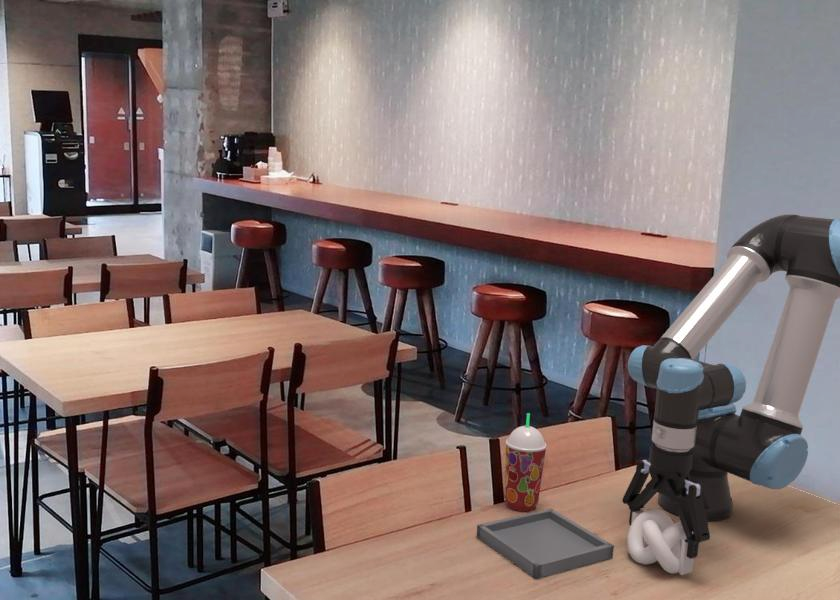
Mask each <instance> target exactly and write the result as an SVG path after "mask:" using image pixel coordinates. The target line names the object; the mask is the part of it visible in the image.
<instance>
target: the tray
mask: <svg viewBox="0 0 840 600" xmlns="http://www.w3.org/2000/svg"><path fill="white" fill-rule="evenodd" d="M476 538H477V540H479V541H481V543H484V544H486V546H488V547H489V548H491V549H492V548H493V550H494V551H495V550H496V551H495V552H496V553H498V554H499V553H500V555H501V556H502V555H503V556H502V557H504V558H505V559H506V560H508V561H509V560H510V561H509V562H511V563H512V562H513V563H512V564H514V565H515V564H516V565H517V566H516V565H515V566H516V567H518V568H519V567H520V569H521V570H522V571H524V572H525V573H526V574H528V575H529V576H531V577H532V578H534V579H535V580H539V579H542V578H546V577H549V576H553V575H556V574H560V573H564V572H567V571H571V570H574V569H577V568H582V567H586V566H591V565H592V564H597V563H600V562H604V561H608V560H610V559H613V556H614V550H615V549H614V548H615V545H614V544H612V543H611V542H609V541H607V540H605V539H604V538H601V537H600V536H599V535H597V534H595V533H594V532H591V531H590V530H588V529H587V528H585V527H583V526H581V525H579V524H578V523H576V522H575V521H573V520H571V519H570V518H568V517H566V516H564V515H562V514H561V513H559V512H557V511H556V510H554V509H553V508H547V509H543V510H538V511H533V512H529V513H525V514H520V515H516V516H515V515H514V516H512V517H511V516H510V517H507V518H503V519H498V520H495V521H494V520H493V521H489V522H485V523H480V524H477V526H476Z"/></svg>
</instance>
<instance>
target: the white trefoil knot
mask: <svg viewBox="0 0 840 600" xmlns="http://www.w3.org/2000/svg"><path fill="white" fill-rule="evenodd" d="M692 534H693V532H692ZM685 538H686V535H685V532H684V529H683V527H682V524H681V521H680V520H679V521H676V522H674V521H673V520H672V517H670V516H669V514H668V513H666V512H664V511H663V510H660V509H659V508H658V509H657V508H648V509H646V510H644V511H643V512H642V513H640V514H639V515H638V516H637V517H636V518H635V520H634V521H633V523H632V525H631V526H630V527H629V529H628V533H627V538H626V543H627V545H626V546H627V548H628V549H627V550H628V553H629V554H630V557H631V558H632V559H633V560H634V561H635V562H636V563H638V564H641V565H651V564H655V563H656V562H658V563H659V565H660V566H661V567H662V569H663V570H664V571H665V572H666V573H667V574H668V573H669V574H670V575H674V574H679V566H680V557H681V549H682V540H683V539H685ZM644 541H645V542H644ZM644 543H645V544H646V547H645V546H644V545H645V544H644Z"/></svg>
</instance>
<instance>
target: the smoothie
mask: <svg viewBox="0 0 840 600" xmlns="http://www.w3.org/2000/svg"><path fill="white" fill-rule="evenodd" d="M530 418H531V413H530V412H527V413H526V421H525V422H526V423H525V425H522V426H521V425H520V426H518V427H516V428H515V429H513V430H512V432H511V433H510V434H509V436H508V438H506V440H505V476H504V477H505V484H504V485H505V487H504V488H505V491H504V492H505V494H504V495H505V496H504V498H505V501H506V502H507V506H508V507H509V508H511V510H514V509H515V511H517V510H519V512H529V510H530V511H533V510H534V509H535V508H536V505H537V504H538V503H539V498H540V492H541V485H542V484H541V483H542V478H543V471H544V465H545V458H546V450H547V445H548V444H547V443H546V441H545V439H544V436H543V434H542V433H541V432H540V431H539V430H538V429H537V428H536V427H534V426H531V425H530Z"/></svg>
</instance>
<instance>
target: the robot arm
mask: <svg viewBox="0 0 840 600" xmlns="http://www.w3.org/2000/svg"><path fill="white" fill-rule="evenodd" d="M776 272H786V273H785V277H784V280H785V281H786V283H787V284H788V285H789V291H788V293H787V297H786V300H785V303H784V306H783V308H782V312H781V314H780V318H779V321H778V325H777V327H776V329H775V334H774V337H773V340H772V343H771V345H770V348H769V352H768V356H767V359H766V362H765V365H764V366H763V370H762V373H761V377H760V379H759V382H758V385H757V389H756V391H755V395H754V398H753V401H752V402H751V403H749V404H746V405H744V406H743V407H742V409H741V411H740V414H739V415H738V414H736V413H737V409H736V408H737V407H736V405H735V404H734V403H737V402H738V401H740V400H741V399H742V398H743V397H744V395H745V393H746V389H747V381H746V378H745V377H746V376H745V375H744V373H743V371H742V370H741V369H740V368H739V367H738V366H736V365H734V364H732V363H721V362H720V363H717V364H711V363H707V362H705V361H704V362H703V361H700V360H697V359H696V357H697V356H698V354H700V352H701V351H702V349H704V347H705V346H706V345H707V344H708V342H709V341H710V340H711V339H712V338H713V337H714V336H715V334H716V333H717V332H718V331H719V330H720V328H721V327H722V326H723V325H724V324H725V322H726V321H727V320H728V319H729V317H730V316H731V315H732V314H733V313H734V312H735V311H736V309H737V308H738V306H739V305H741V304H742V302H743V301H744V300H745V298H746V297H747V296H748V295H749V293H750V292H751V291H752V290H753V289H754V287H755V286H756V285H757V284H758V283H763V282H766V281H767V280H768V279H769V277H771V275H772V274H774V273H776ZM838 299H840V219H839V218H836V219H832V218H824V217H823V218H822V217H813V216H805V215H804V216H803V215H798V214H781V215H778V216H774V217H771V218H769V219H767V220H765V221H763V222H760V223H759V224H757V225H755V226H754V227H752V228H751V229H750V230H748V231H747V232H746V233H744V234H743V235H742V236H741V237H739V238H738V239H737V241H735V243H734V244H733V245H732V246H731V247H730V248H729V249H728V251H727V253H726V261H725V262H724V263H723V264H722V266H721V267H720V268H719V269H718V270H717V271H716V273H715V274H714V275H713V276H712V277H711V278H710V280H709V281H708V282H707V283H706V284H705V285H704V286H703V288H702V289H701V290H700V291H699V292H698V294H697V295H696V296H695V297H694V298H693V299H692V301H690V303H689V304H688V305H687V307H685V309H684V310H683V311H682V312H681V314H680V315H678V316H677V318H676V319H675V320H674V322H673V323H672V324H671V325H670V326H669V328H667V330H666V331H665V333H663V334H662V336H661V337H660V338H659V339H658V340H657V342H655V344H654V345H653V346H651V345H643V344H642V345H639V346H637V347H635V348H634V349H633V351H632V352H630V353H631V354H630V356H629V358H628V361H627V371H628V374H629V376H630V378H631V379H632V380H633V381H635V382H637V383H639V384H642V386H643V385H644V386H646V387H647V388H652V389H656V393H655V394H656V396H655V407H654V408H655V409H654V414H653V421H652V424H653V425H652V433H651V441H652V443H651V444H650V447H649V457H648V459H643V460H638V461H637V462H636V467H635V468H636V469H635V472H634V474H633V477H632V479H631V481H630V482H629V485H628V487H627V489H626V491H625V493H624V495H623V498H622V503H623V504H624V505H627V506H628V508H629V518H628V525H629V526H630V527H631V525H632V523H633V521H634V520H635V518H636V517H637V516H638V515H639V514H640V513H642V512H643V511H645V510H644V509H645V506H646V504H648V503H649V501H650V500H651V499H652V498H653V497H654V496H655V495H656V494H657V493H658V496H657V502H658V504H659V505H660V507H661V508H662V509H664V510H666V511H667V512H669V513H670V514H674V515H675V516H678V518H679V522H680V521H681V524H682V527H683V529H684V532H685V535H686V538H685V539H683V540H682V549H681V557H680V566H679V572H678V574H679V575H681V576H684V575H687V574H691V573H692V572H693V570H694V563H695V559H696V558H697V557H698V554H699V546H700V543H702V542H706V541H709V540H710V539H711V535H710V534H711V533H710V528H709V524H708V522H714V521H715V522H716V521H721V520H725V519H728V518H729V517H730V516H732V513H733V506H734V504H733V502H734V501H733V499H732V496H731V489H730V484H729V483H730V482H729V479H728V474H731V475H733V476H735V477H738V478H741V479H743V480H746V481H749V482H750V483H752V484H754V485H756V486H761V487H765V488H767V489H770V490H780V489H783V488H786V487H787V486H789V485H790V484H791V483H792V482H794V481H795V480H796V479H797V478H798V476H799V475H800V474H801V472H802V471H803V469H804V467H805V465H806V463H807V459H808V456H809V450H808V448H809V445H808V442H807V440H806V438H805V437H804V436H803V435H802V432H803V429H804V425H803V424H802V422H801V420H800V418H799V413H800V410H801V407H802V404H803V401H804V399H805V395H806V392H807V389H808V386H809V383H810V380H811V376H812V374H813V370H814V369H815V364H816V361H817V358H818V355H819V352H820V349H821V347H822V342H823V340H824V336H825V334H826V331H827V328H828V325H829V322H830V318H831V316H832V312H833V309H834V306H835V303H836V301H837V300H838ZM649 475H650V478H651V479H650V480H649V481H648V482H647V483H646V481H647V480H648V477H649ZM644 485H645V487H644ZM692 532H693V534H692Z"/></svg>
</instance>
